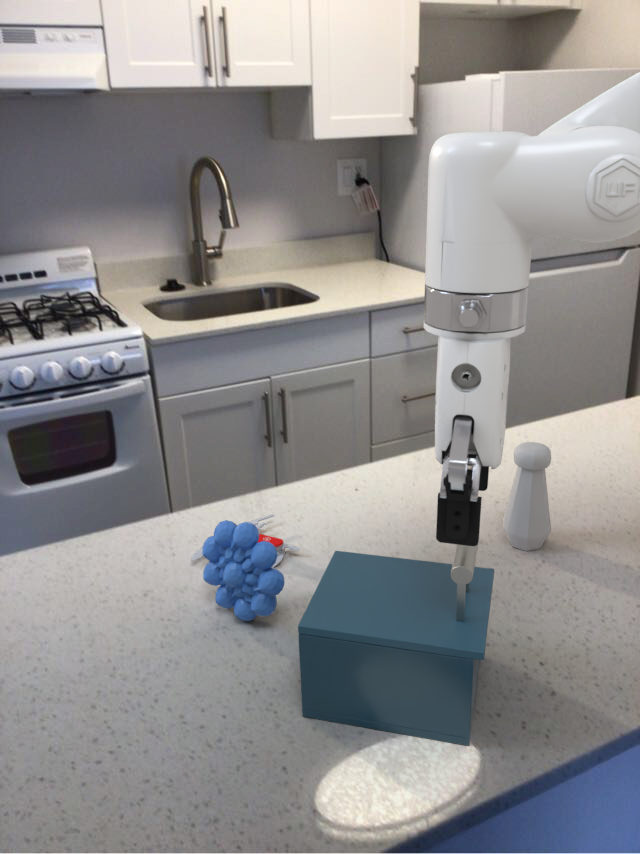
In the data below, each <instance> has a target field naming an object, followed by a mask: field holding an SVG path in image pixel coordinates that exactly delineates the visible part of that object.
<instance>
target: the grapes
mask: <svg viewBox="0 0 640 854" xmlns="http://www.w3.org/2000/svg"><path fill="white" fill-rule="evenodd" d="M248 522H249V521H244V522H241V523H239V524H236V523H235V522H234V521H232V520H226V519H225V520H222V521H219V523H218V524H217V525H216V526H215V527H214V531H213V535H211V536H208V537H207V538H206V539H205V540H204V542H203V544H202V546H201V547H202V554H203V556H202V557H203V558H204V559H206V560H207V561H208V562H207V563H206V564H205V565H204V568H203V572H202V577H203V581H204V582H205V583H207V584H208V585H210V586H214V587H217V589H216V591H215V599H214V600H215V603H216V604H217V605H218V606H219V607H221V608H222V609H226V610H229V609H233V612H234V616H235V617H236V618H238V619H239V620H241V621H244V622H249V621H253V620H254V619H255V618H256V617H257V616H258V617H263V618H265V617H268V616H271V615H272V614H273V613H274V612H275V611H276V608H277V604H278V600H277V599H278V598H277V596H278V595H279V594H280V593H282V591H283V589H284V586H285V576H284V574H283V573H282V572H281V571H280V570H279V569H277V568H274V567H272V566H273V565H274V564H275V563H276V560H277V549H276V547H275V546H274V545H273V544H271V543H270V542H266V541H262V542H259V543H258V540H259V534H260V531H259V530H258V528H257V527H256V526H255V525H253V524H252V523H248ZM237 525H238V526H237ZM218 586H219V587H218Z"/></svg>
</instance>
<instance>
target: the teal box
mask: <svg viewBox="0 0 640 854" xmlns="http://www.w3.org/2000/svg"><path fill="white" fill-rule="evenodd" d="M297 635H298V654H299V655H298V656H299V674H300V691H301V692H300V695H301V713H302V715H301V716H302V717H303V718H309V719H313V720H314V719H315V720H321V721H325V722H332V723H338V724H343V725H349V726H355V727H359V728H366V729H371V730H377V731H383V732H388V733H393V734H400V735H405V736H410V737H411V736H412V737H417V738H423V739H428V740H434V741H440V742H445V743H451V744H456V745H462V746H467V747H468V746H469V747H470V743H471V736H472V735H471V734H472V726H473V718H474V711H475V704H476V703H475V701H476V696H477V695H476V694H477V687H478V678H479V670H480V662H481V660H476V659H469V658H462V657H456V656H449V655H442V654H435V653H428V652H422V651H415V650H408V649H401V648H394V647H388V646H381V645H374V644H367V643H360V642H354V641H347V640H340V639H333V638H326V637H320V636H313V635H306V634H299V633H298V634H297Z"/></svg>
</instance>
